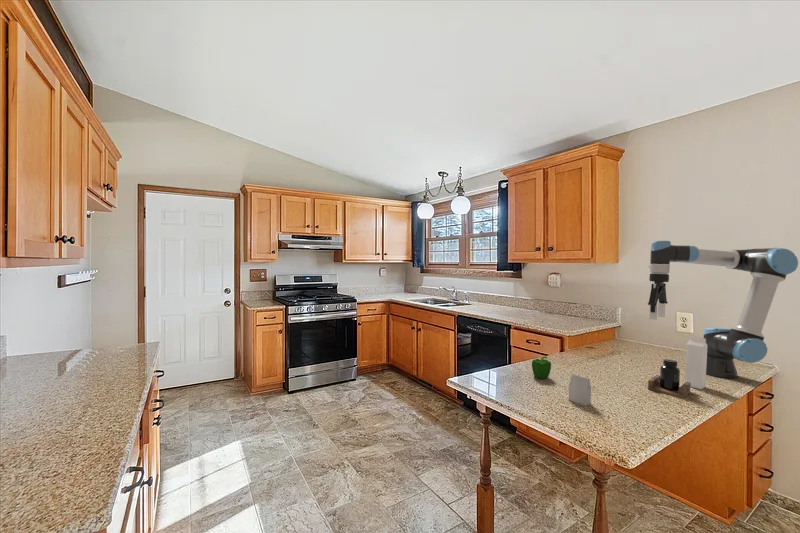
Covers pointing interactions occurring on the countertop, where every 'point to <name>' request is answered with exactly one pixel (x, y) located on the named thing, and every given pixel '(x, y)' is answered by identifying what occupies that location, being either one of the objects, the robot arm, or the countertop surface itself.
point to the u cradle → (655, 386)
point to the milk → (696, 362)
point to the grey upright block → (580, 390)
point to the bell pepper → (541, 367)
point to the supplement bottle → (669, 375)
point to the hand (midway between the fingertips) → (657, 318)
